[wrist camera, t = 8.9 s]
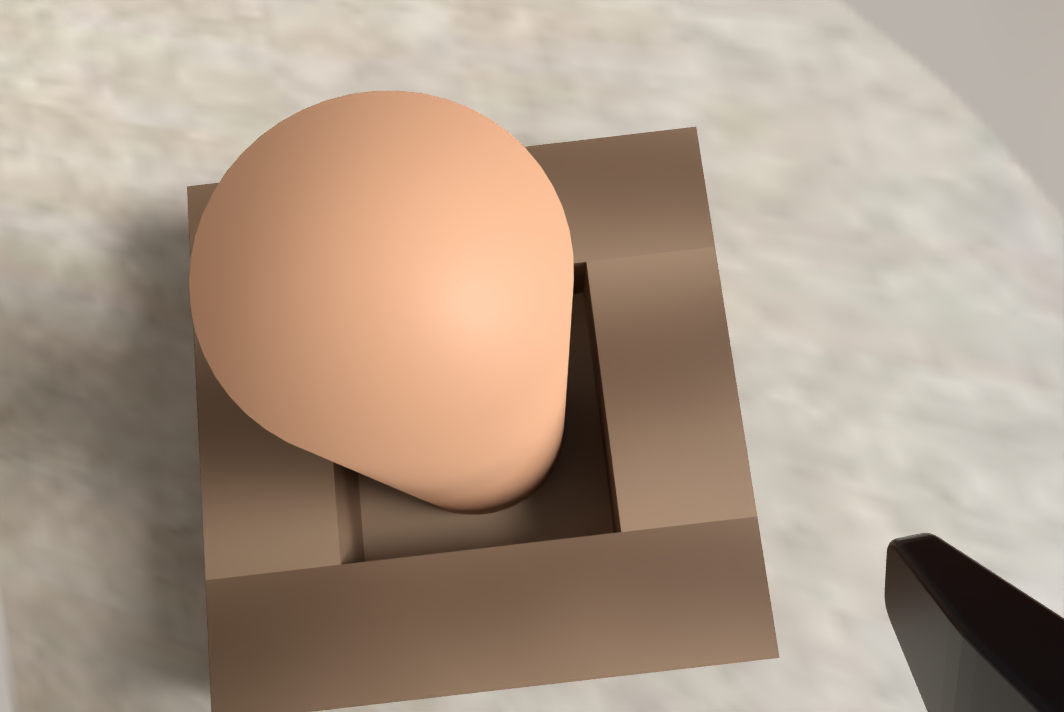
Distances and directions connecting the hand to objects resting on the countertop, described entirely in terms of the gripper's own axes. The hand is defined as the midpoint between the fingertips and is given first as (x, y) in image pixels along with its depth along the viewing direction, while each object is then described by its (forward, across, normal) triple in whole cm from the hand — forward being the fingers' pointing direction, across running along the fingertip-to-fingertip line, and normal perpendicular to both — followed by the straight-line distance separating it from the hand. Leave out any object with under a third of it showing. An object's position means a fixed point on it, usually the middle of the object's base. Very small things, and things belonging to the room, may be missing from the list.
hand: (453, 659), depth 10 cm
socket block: (+12, 0, +6) cm, 13 cm away
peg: (+11, 0, +6) cm, 13 cm away
